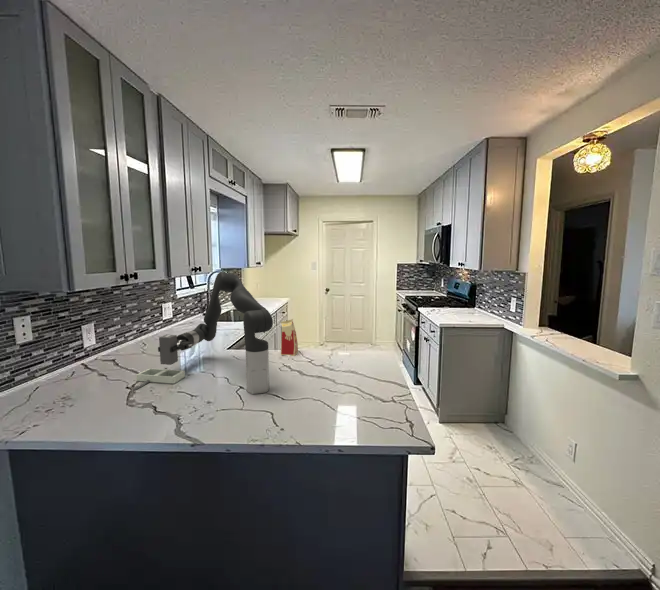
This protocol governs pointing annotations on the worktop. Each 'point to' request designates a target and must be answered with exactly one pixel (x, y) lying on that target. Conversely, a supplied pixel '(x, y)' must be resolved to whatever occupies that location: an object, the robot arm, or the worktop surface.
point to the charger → (168, 349)
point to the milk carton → (289, 339)
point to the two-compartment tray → (159, 377)
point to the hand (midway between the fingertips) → (164, 349)
